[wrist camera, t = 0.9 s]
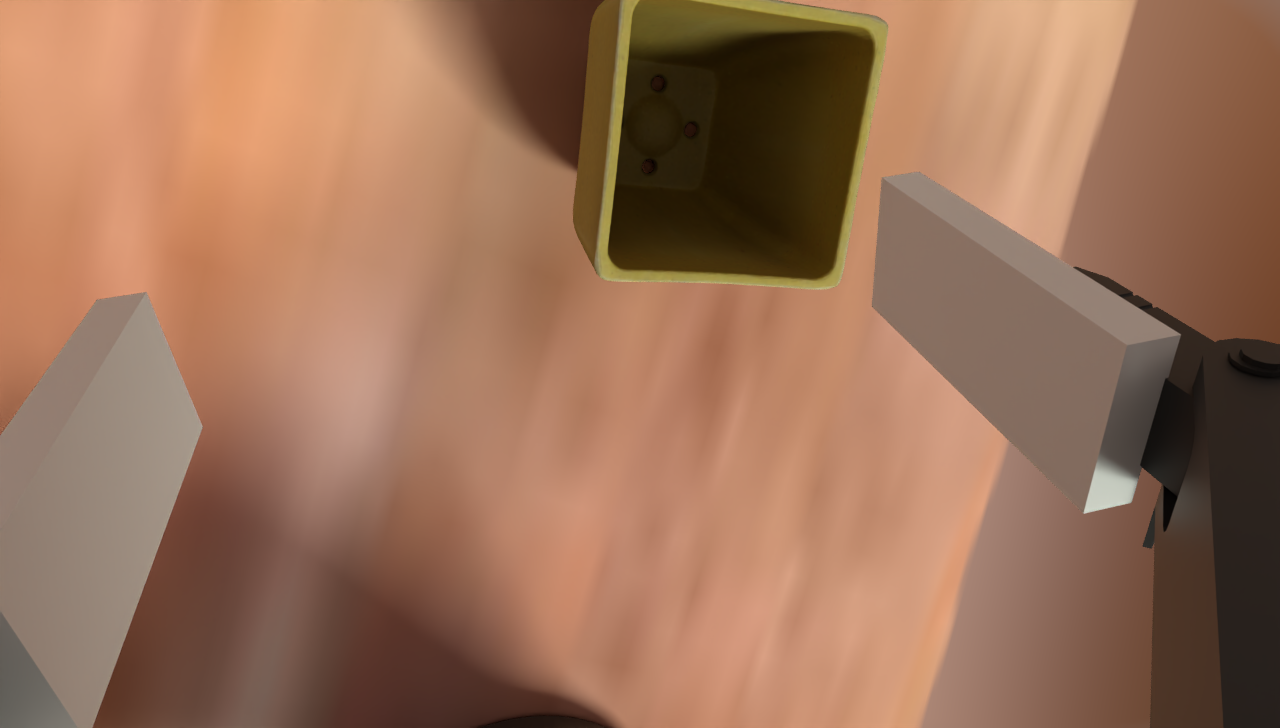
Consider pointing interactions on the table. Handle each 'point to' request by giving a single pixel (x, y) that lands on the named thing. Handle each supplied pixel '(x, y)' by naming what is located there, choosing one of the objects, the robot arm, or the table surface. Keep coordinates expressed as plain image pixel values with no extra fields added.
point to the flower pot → (725, 140)
